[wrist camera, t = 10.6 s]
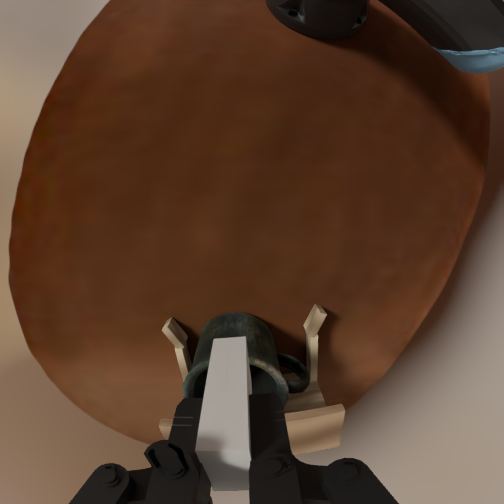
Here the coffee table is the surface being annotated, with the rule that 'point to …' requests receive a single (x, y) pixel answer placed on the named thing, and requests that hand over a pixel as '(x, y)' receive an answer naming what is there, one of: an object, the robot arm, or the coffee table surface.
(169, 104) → the coffee table surface
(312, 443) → the wooden u-frame
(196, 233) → the coffee table surface
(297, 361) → the mug
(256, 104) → the coffee table surface
